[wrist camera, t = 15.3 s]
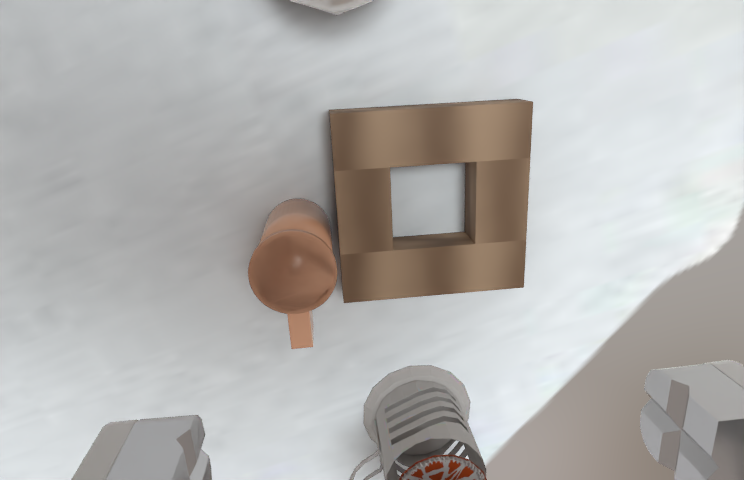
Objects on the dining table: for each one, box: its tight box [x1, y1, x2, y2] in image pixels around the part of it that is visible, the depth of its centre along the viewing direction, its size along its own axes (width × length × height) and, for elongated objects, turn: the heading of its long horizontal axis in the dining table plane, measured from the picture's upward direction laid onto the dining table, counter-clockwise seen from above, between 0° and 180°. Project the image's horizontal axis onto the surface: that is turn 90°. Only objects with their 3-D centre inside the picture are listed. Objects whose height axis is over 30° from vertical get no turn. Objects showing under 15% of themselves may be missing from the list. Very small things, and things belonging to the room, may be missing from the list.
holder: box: [329, 99, 533, 303], centre depth 39 cm, size 14×14×3 cm
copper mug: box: [248, 199, 337, 349], centre depth 37 cm, size 8×5×9 cm, turn 3°
